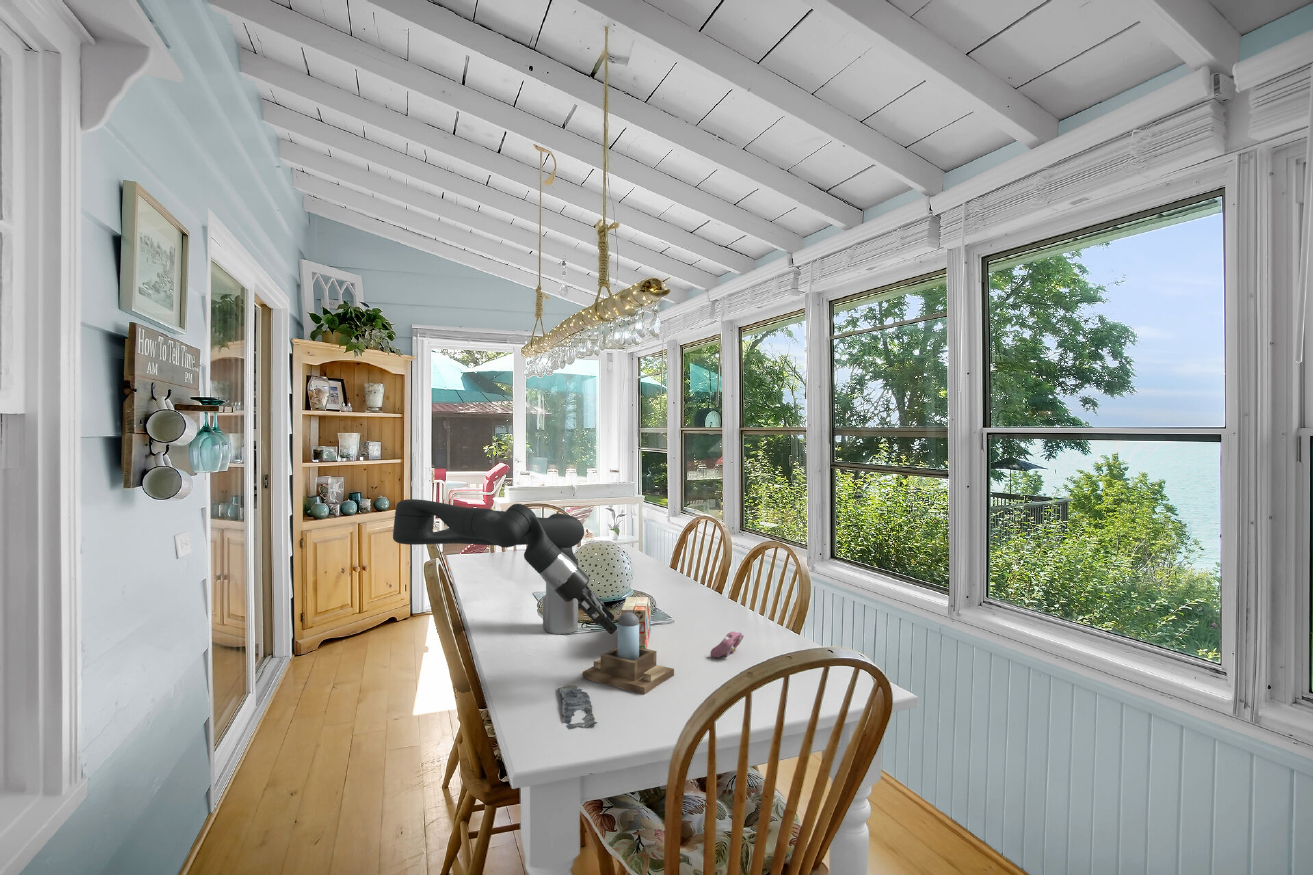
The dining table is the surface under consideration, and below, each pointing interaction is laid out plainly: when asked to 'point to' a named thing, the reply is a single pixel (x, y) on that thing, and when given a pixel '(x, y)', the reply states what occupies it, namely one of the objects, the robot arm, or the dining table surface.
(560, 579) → the robot arm
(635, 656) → the ball on cylinder
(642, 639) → the stack of blocks
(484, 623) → the dining table surface
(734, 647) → the video game controller
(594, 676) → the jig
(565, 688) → the driftwood
